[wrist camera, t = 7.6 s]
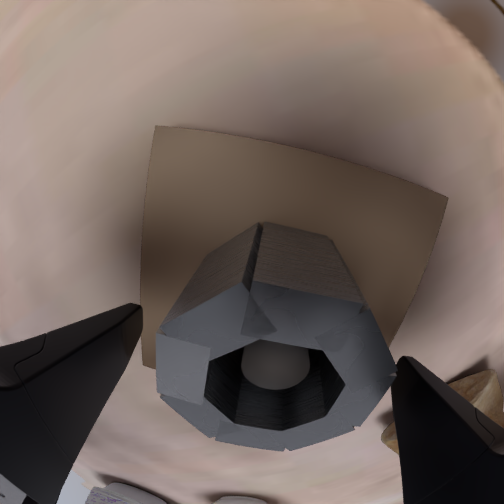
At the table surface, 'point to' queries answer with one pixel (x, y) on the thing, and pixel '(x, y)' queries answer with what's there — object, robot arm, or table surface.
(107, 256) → the table surface
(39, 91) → the table surface
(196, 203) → the block
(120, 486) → the paper bowls
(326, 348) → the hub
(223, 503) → the lidded jar
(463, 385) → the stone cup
